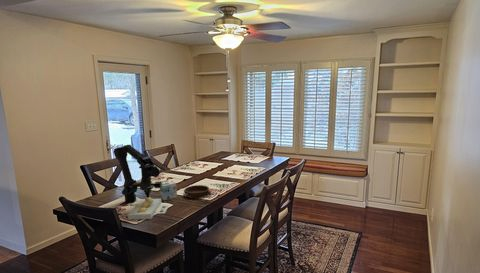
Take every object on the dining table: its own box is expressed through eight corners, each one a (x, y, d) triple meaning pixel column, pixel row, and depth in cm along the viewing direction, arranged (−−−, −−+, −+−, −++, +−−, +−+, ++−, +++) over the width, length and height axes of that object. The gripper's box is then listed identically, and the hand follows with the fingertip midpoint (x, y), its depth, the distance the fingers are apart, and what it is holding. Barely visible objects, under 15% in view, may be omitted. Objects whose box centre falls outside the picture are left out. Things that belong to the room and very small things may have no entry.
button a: (138, 216, 182) (137, 210, 182) (140, 213, 186) (139, 207, 186) (145, 216, 182) (144, 209, 182) (147, 213, 187) (146, 207, 186)
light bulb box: (163, 200, 208) (162, 186, 206) (160, 198, 213) (158, 183, 212) (177, 197, 214) (176, 182, 212) (173, 194, 220) (172, 180, 218)
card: (156, 213, 186) (156, 212, 185) (161, 206, 197) (161, 205, 197) (164, 213, 186) (164, 212, 186) (168, 206, 198) (168, 205, 197)
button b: (141, 209, 189) (140, 203, 188) (143, 207, 193) (142, 201, 193) (148, 209, 189) (147, 203, 188) (149, 206, 193) (149, 201, 193)
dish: (204, 200, 205) (204, 194, 204) (177, 197, 213) (177, 191, 212) (215, 192, 221) (215, 186, 220) (190, 190, 229) (189, 183, 228)
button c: (144, 205, 196) (144, 199, 195) (146, 203, 200) (146, 197, 199) (151, 205, 196) (150, 199, 195) (152, 202, 200) (152, 197, 200)
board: (128, 219, 178) (127, 215, 178) (141, 203, 204) (140, 199, 204) (151, 218, 179) (150, 214, 178) (161, 202, 204) (161, 198, 204)
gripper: (127, 179, 187) (129, 202, 189) (157, 178, 187) (159, 201, 190) (133, 174, 198) (135, 196, 200) (161, 173, 198) (163, 195, 201)
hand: (148, 197), depth 197 cm, fingers closed
